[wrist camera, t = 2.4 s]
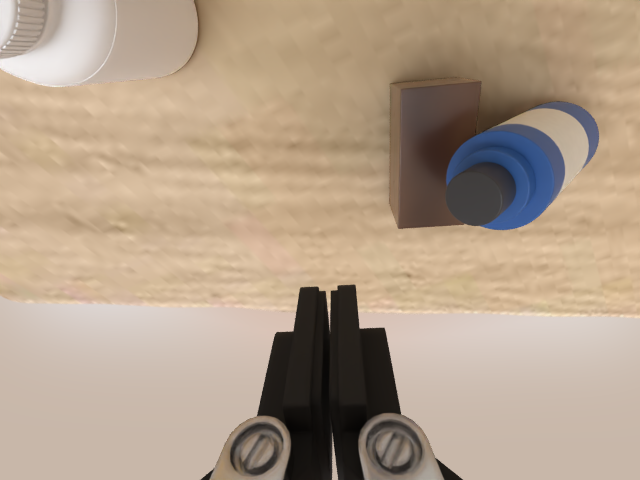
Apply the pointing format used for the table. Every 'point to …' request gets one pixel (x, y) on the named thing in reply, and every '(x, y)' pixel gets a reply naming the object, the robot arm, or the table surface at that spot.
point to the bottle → (519, 166)
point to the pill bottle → (95, 39)
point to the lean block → (427, 145)
